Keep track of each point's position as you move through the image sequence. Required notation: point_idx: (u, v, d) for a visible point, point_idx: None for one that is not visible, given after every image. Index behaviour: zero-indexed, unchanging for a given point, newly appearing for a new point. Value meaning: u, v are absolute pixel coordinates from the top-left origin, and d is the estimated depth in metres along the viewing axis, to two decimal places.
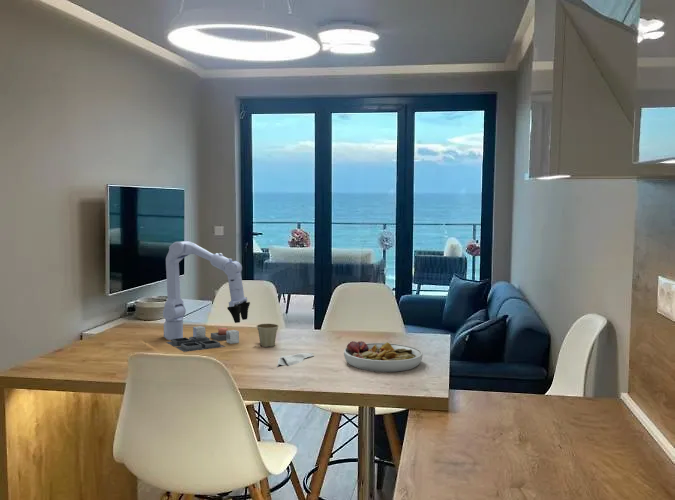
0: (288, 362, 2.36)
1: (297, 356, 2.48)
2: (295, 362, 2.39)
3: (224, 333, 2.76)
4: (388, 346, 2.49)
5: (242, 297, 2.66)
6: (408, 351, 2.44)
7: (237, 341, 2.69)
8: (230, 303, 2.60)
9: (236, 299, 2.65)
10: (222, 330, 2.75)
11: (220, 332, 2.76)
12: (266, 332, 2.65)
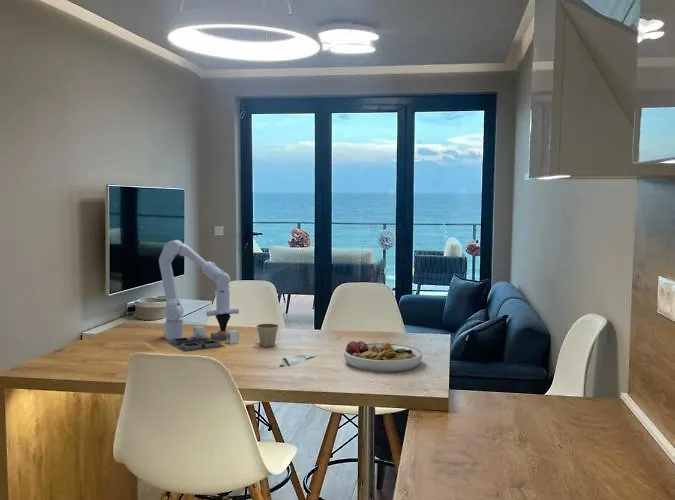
0: (290, 362, 2.36)
1: (299, 356, 2.48)
2: (297, 362, 2.38)
3: None
4: (388, 346, 2.50)
5: (223, 309, 2.74)
6: (408, 351, 2.44)
7: (237, 341, 2.69)
8: (207, 312, 2.73)
9: (217, 310, 2.75)
10: (222, 332, 2.76)
11: (220, 334, 2.76)
12: (266, 332, 2.65)
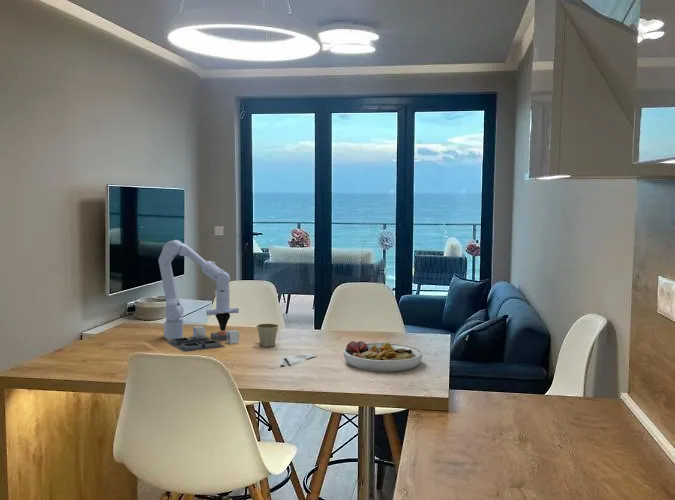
0: (290, 362, 2.36)
1: (300, 356, 2.48)
2: (297, 362, 2.38)
3: None
4: (388, 346, 2.50)
5: (223, 308, 2.74)
6: (408, 351, 2.44)
7: (237, 341, 2.69)
8: (207, 312, 2.73)
9: (217, 309, 2.75)
10: (222, 333, 2.76)
11: None
12: (266, 332, 2.65)
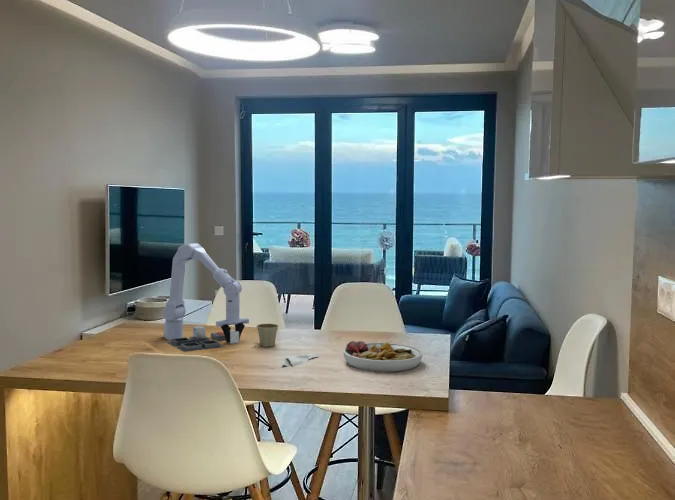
0: (292, 363, 2.35)
1: (302, 357, 2.48)
2: (299, 363, 2.38)
3: None
4: (387, 346, 2.50)
5: (233, 319, 2.66)
6: (408, 351, 2.44)
7: (237, 341, 2.69)
8: (216, 323, 2.65)
9: (227, 320, 2.67)
10: (222, 333, 2.76)
11: None
12: (266, 332, 2.65)
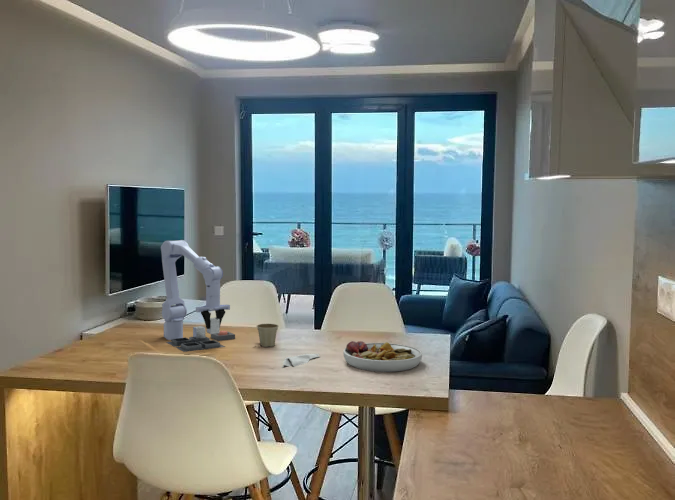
0: (293, 363, 2.35)
1: (303, 357, 2.47)
2: (300, 363, 2.38)
3: None
4: (387, 346, 2.50)
5: (213, 305, 2.60)
6: (407, 351, 2.44)
7: (218, 329, 2.62)
8: (196, 308, 2.58)
9: (207, 305, 2.60)
10: (222, 333, 2.76)
11: None
12: (266, 332, 2.65)
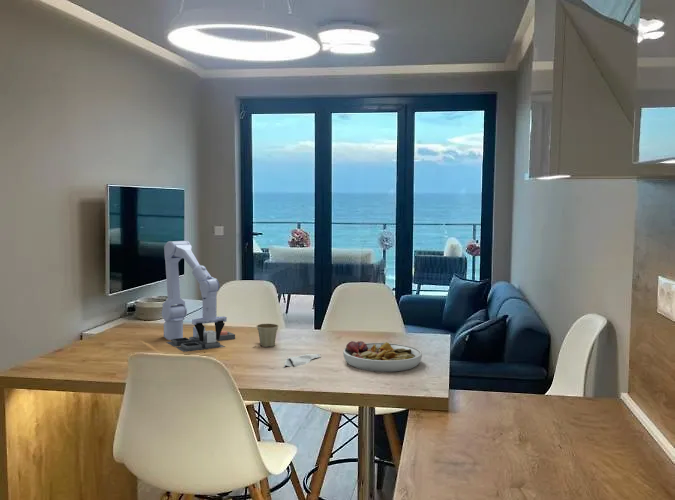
0: (294, 363, 2.35)
1: (304, 357, 2.47)
2: (302, 363, 2.38)
3: None
4: (387, 346, 2.50)
5: (210, 317, 2.59)
6: (407, 351, 2.44)
7: (214, 342, 2.61)
8: (192, 321, 2.58)
9: (203, 318, 2.59)
10: (222, 333, 2.76)
11: None
12: (266, 332, 2.65)
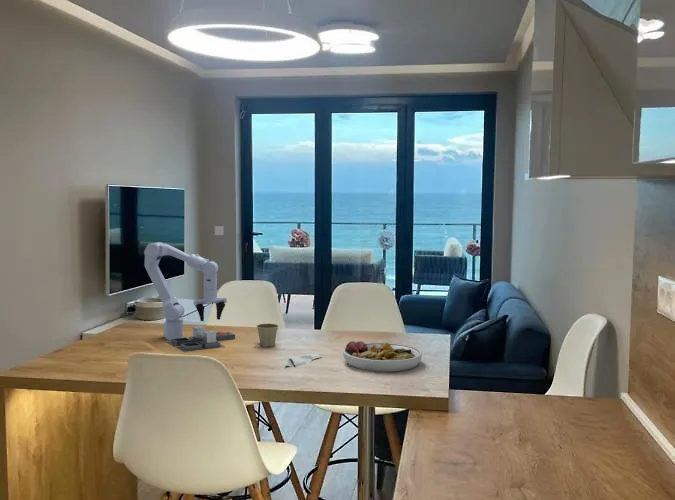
0: (295, 363, 2.35)
1: (305, 357, 2.47)
2: (303, 363, 2.37)
3: None
4: (387, 346, 2.50)
5: (210, 298, 2.72)
6: (407, 351, 2.44)
7: (214, 342, 2.61)
8: (194, 301, 2.71)
9: (204, 298, 2.72)
10: (222, 333, 2.76)
11: None
12: (266, 332, 2.65)
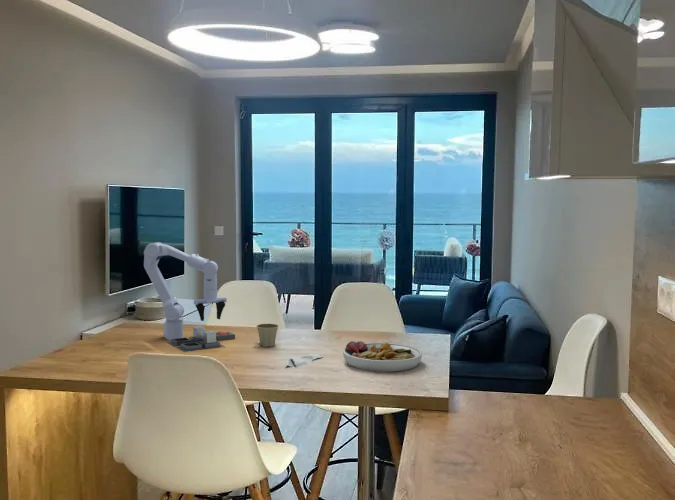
0: (296, 363, 2.35)
1: (306, 357, 2.47)
2: (303, 363, 2.37)
3: None
4: (387, 346, 2.50)
5: (210, 298, 2.73)
6: (407, 351, 2.44)
7: (214, 342, 2.61)
8: (194, 301, 2.71)
9: (205, 298, 2.73)
10: (222, 333, 2.76)
11: None
12: (266, 332, 2.65)
